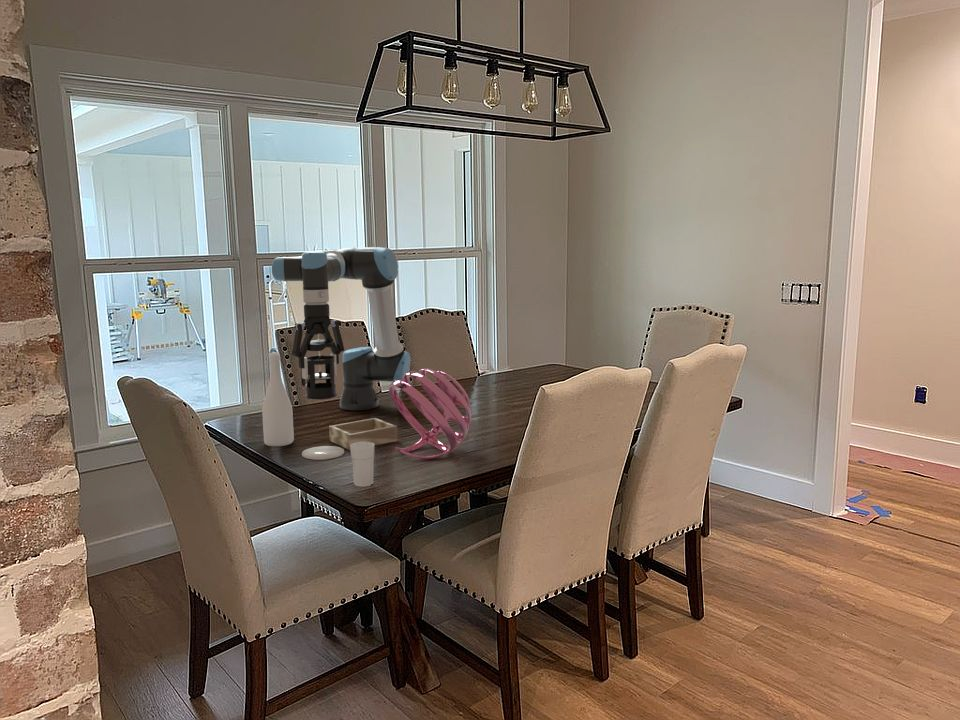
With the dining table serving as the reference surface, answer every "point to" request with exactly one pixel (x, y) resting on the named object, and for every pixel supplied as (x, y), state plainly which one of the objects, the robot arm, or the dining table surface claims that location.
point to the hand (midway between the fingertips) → (319, 376)
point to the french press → (320, 389)
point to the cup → (362, 463)
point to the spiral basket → (433, 410)
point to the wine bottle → (277, 408)
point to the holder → (363, 432)
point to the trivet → (323, 452)
